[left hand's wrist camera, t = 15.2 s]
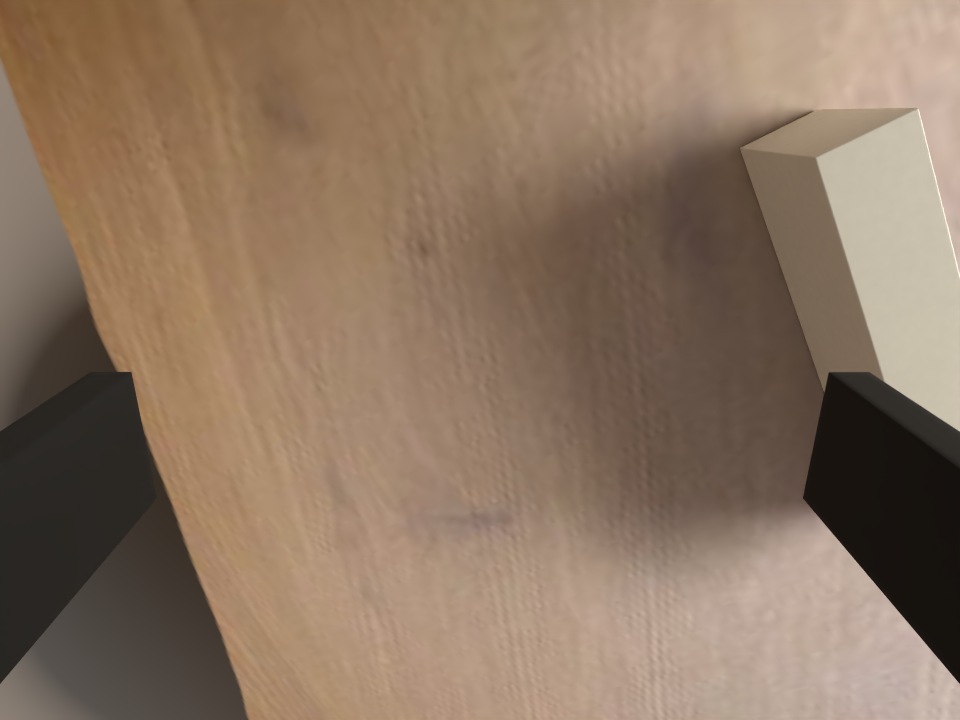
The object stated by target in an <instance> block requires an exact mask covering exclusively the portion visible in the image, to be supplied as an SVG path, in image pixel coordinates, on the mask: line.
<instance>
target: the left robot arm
mask: <svg viewBox="0 0 960 720" xmlns="http://www.w3.org/2000/svg"><path fill="white" fill-rule="evenodd" d="M156 499H157V496H156V491H155V486H154V481H153V476H152V471H151V467H150V461H149V457H148V452H147V447H146V442H145V437H144V432H143V427H142V422H141V417H140V412H139V407H138V402H137V397H136V393H135V388H134V383H133V378H132V373H131V372H90V373H89V374H87V375H86V376H84V377H82V378H81V379H79V380H78V381H76V382H75V383H73V384H72V385H70V386H69V387H67V388H66V389H64V390H63V391H61V392H60V393H58V394H57V395H55V396H54V397H52V398H51V399H49V400H48V401H46V402H44V403H43V404H41V405H40V406H38V407H37V408H35V409H34V410H32V411H31V412H29V413H28V414H26V415H25V416H23V417H22V418H20V419H19V420H17V421H16V422H14V423H12V424H11V425H9V426H8V427H7V428H5V429H3V430H2V431H0V683H1V682H2V681H3V680H4V679H5V677H6V676H7V675H8V674H9V673H10V671H11V670H12V669H13V668H14V667H15V666H16V664H17V663H18V662H19V661H20V660H21V658H22V657H23V656H24V655H25V654H26V653H27V651H28V650H29V649H30V648H31V647H32V646H33V644H34V643H35V642H36V641H37V640H38V638H39V637H40V636H41V635H42V634H43V633H44V631H45V630H46V629H47V628H48V627H49V625H50V624H51V623H52V622H53V621H54V619H55V618H56V617H57V616H58V615H59V614H60V612H61V611H62V610H63V609H64V608H65V606H66V605H67V604H68V603H69V602H70V600H71V599H72V598H73V597H74V596H75V595H76V593H77V592H78V591H79V590H80V589H81V588H82V586H83V585H84V584H85V583H86V582H87V580H88V579H89V578H90V577H91V576H92V575H93V573H94V572H95V571H96V570H97V569H98V567H99V566H100V565H101V564H102V563H103V562H104V560H105V559H106V558H107V557H108V556H109V554H110V553H111V552H112V551H113V550H114V548H115V547H116V546H117V545H118V544H119V543H120V541H121V540H122V539H123V538H124V537H125V535H126V534H127V533H128V532H129V531H130V530H131V528H132V527H133V526H134V525H135V524H136V522H137V521H138V520H139V519H140V518H141V517H142V515H143V514H144V513H145V512H146V511H147V509H148V508H149V507H150V506H151V505H152V503H153V502H154V501H155V500H156ZM803 499H804V500H805V501H806V502H807V504H808V505H809V506H810V507H811V508H812V509H813V511H814V512H815V513H816V514H817V515H818V517H819V518H820V519H821V520H822V521H823V522H824V524H825V525H826V526H827V527H828V528H829V530H830V531H831V532H832V533H833V534H834V535H835V537H836V538H837V539H838V540H839V541H840V543H841V544H842V545H843V546H844V547H845V548H846V550H847V551H848V552H849V553H850V554H851V556H852V557H853V558H854V559H855V560H856V562H857V563H858V564H859V565H860V566H861V567H862V569H863V570H864V571H865V572H866V573H867V575H868V576H869V577H870V578H871V579H872V580H873V582H874V583H875V584H876V585H877V586H878V588H879V589H880V590H881V591H882V592H883V593H884V595H885V596H886V597H887V598H888V599H889V601H890V602H891V603H892V604H893V605H894V606H895V608H896V609H897V610H898V611H899V612H900V614H901V615H902V616H903V617H904V618H905V620H906V621H907V622H908V623H909V624H910V625H911V627H912V628H913V629H914V630H915V631H916V633H917V634H918V635H919V636H920V637H921V638H922V640H923V641H924V642H925V643H926V644H927V646H928V647H929V648H930V649H931V650H932V651H933V653H934V654H935V655H936V656H937V657H938V659H939V660H940V661H941V662H942V663H943V664H944V666H945V667H946V668H947V669H948V670H949V672H950V673H951V674H952V675H953V676H954V677H955V679H956V680H957V681H958V682H959V683H960V431H958V430H957V429H955V428H954V427H952V426H951V425H949V424H948V423H946V422H944V421H943V420H941V419H940V418H938V417H937V416H935V415H934V414H932V413H931V412H929V411H928V410H926V409H925V408H923V407H922V406H920V405H919V404H917V403H916V402H914V401H913V400H911V399H910V398H908V397H906V396H905V395H903V394H902V393H900V392H899V391H897V390H896V389H894V388H893V387H891V386H890V385H888V384H887V383H885V382H884V381H882V380H881V379H879V378H878V377H876V376H875V375H873V374H872V373H870V372H829V373H828V378H827V383H826V388H825V393H824V397H823V402H822V407H821V412H820V417H819V422H818V427H817V432H816V437H815V442H814V447H813V452H812V457H811V461H810V466H809V471H808V476H807V481H806V486H805V491H804V496H803Z"/></svg>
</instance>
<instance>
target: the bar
mask: <svg viewBox="0 0 960 720" xmlns="http://www.w3.org/2000/svg"><path fill="white" fill-rule="evenodd" d="M740 150H741V153H742V156H743V159H744V162H745V165H746V168H747V171H748V174H749V177H750V179H751V182H752V185H753V188H754V191H755V194H756V197H757V200H758V203H759V206H760V208H761V211H762V214H763V217H764V220H765V223H766V226H767V229H768V232H769V234H770V237H771V240H772V243H773V246H774V249H775V252H776V255H777V258H778V261H779V263H780V266H781V269H782V272H783V275H784V278H785V281H786V284H787V287H788V290H789V292H790V295H791V298H792V301H793V304H794V307H795V310H796V313H797V316H798V319H799V321H800V324H801V327H802V330H803V333H804V336H805V339H806V342H807V345H808V348H809V350H810V353H811V356H812V359H813V362H814V365H815V368H816V371H817V374H818V376H819V379H820V382H821V385H822V388H823V391H824V393H825V388H826V383H827V378H828V373H829V372H870V373H872V374H873V375H875V376H876V377H878V378H879V379H881V380H882V381H884V382H885V383H887V384H888V385H890V386H891V387H893V388H894V389H896V390H897V391H899V392H900V393H902V394H903V395H905V396H906V397H908V398H910V399H911V400H913V401H914V402H916V403H917V404H919V405H920V406H922V407H923V408H925V409H926V410H928V411H929V412H931V413H932V414H934V415H935V416H937V417H938V418H940V419H941V420H943V421H944V422H946V423H948V424H949V425H951V426H952V427H954V428H955V429H957V430H958V431H960V274H959V270H958V266H957V262H956V258H955V254H954V250H953V246H952V242H951V238H950V234H949V230H948V226H947V222H946V218H945V214H944V210H943V206H942V202H941V198H940V194H939V190H938V186H937V182H936V178H935V173H934V169H933V165H932V161H931V157H930V153H929V149H928V145H927V141H926V137H925V133H924V129H923V125H922V121H921V117H920V113H919V109H918V108H886V109H822V110H816V111H814V112H812V113H810V114H808V115H806V116H804V117H802V118H800V119H797V120H795V121H793V122H791V123H789V124H787V125H785V126H783V127H781V128H779V129H777V130H775V131H773V132H771V133H769V134H767V135H765V136H763V137H761V138H759V139H757V140H755V141H753V142H751V143H749V144H747V145H745V146H743V147H741V148H740Z"/></svg>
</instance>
